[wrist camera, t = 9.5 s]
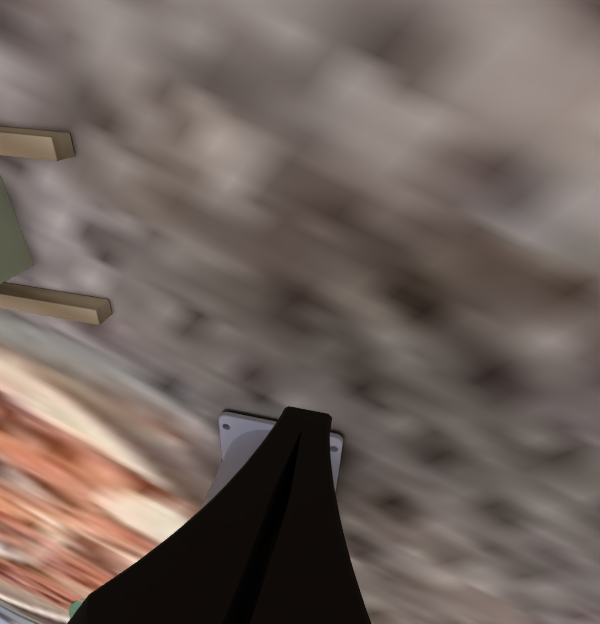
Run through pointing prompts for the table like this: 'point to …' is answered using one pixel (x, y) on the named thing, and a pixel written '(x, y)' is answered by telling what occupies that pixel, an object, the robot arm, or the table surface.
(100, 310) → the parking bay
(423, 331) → the table surface
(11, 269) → the sage block
